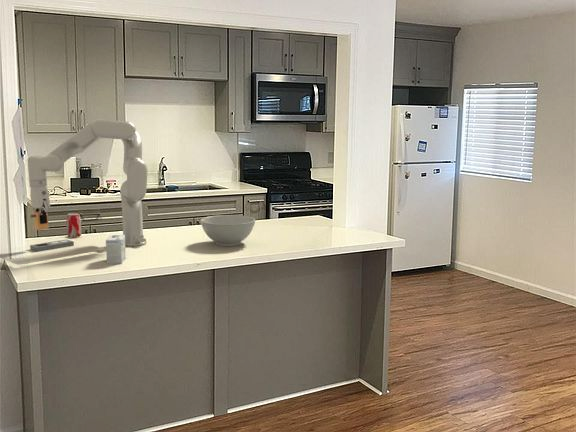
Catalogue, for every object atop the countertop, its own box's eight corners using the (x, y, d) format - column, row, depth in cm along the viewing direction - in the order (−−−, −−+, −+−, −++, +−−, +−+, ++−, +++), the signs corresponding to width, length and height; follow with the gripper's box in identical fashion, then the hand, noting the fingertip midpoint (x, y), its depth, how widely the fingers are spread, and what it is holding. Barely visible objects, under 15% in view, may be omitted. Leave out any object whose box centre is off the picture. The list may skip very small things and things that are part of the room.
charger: (48, 228, 300) (47, 211, 299) (34, 230, 295) (32, 213, 294) (44, 227, 303) (43, 210, 301) (30, 229, 298) (28, 212, 296)
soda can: (77, 238, 332) (75, 215, 330) (64, 237, 334) (63, 214, 332) (84, 235, 339) (82, 213, 337) (71, 235, 340) (70, 212, 338)
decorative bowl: (219, 236, 339) (219, 213, 337) (264, 241, 328) (264, 217, 325) (190, 246, 315) (189, 221, 313) (237, 251, 304) (237, 226, 302)
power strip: (74, 248, 309) (73, 241, 308) (37, 255, 296) (37, 247, 296) (66, 246, 314) (66, 239, 313) (30, 252, 301) (30, 244, 300)
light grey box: (110, 258, 291) (109, 234, 289) (126, 258, 291) (125, 234, 289) (106, 264, 280) (105, 239, 278) (122, 264, 281) (121, 239, 279)
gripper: (54, 184, 293) (57, 223, 296) (37, 181, 304) (40, 219, 308) (38, 185, 288) (42, 226, 291) (21, 182, 299) (25, 221, 302)
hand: (41, 222), depth 299 cm, fingers closed on charger, 4 cm apart
